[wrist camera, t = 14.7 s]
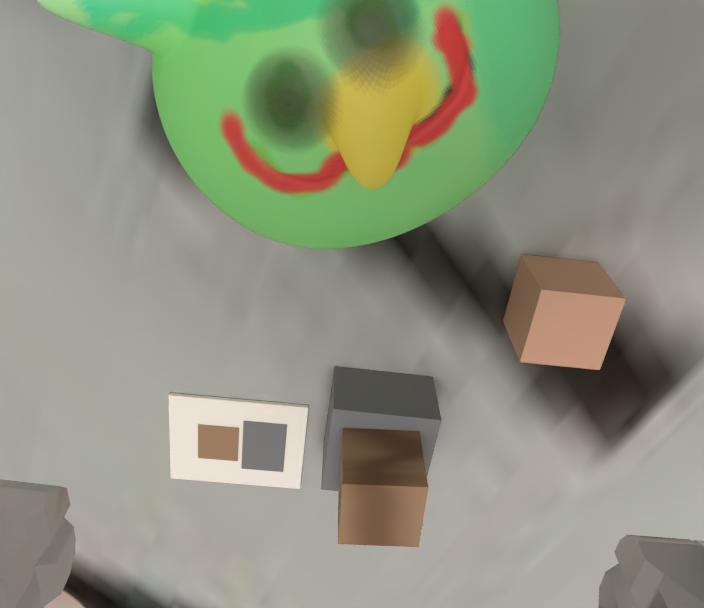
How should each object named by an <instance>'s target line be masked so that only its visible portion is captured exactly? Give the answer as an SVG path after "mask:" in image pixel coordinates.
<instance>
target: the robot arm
mask: <svg viewBox="0 0 704 608" xmlns="http://www.w3.org/2000/svg"><path fill="white" fill-rule="evenodd" d="M69 506H70V501H69V497H68V492H67V488H64V487H61V486H53V485H44V484H35V483H27V482H18V481H9V480H0V608H44V606H45V605H47V604H48V603H49V602H51V601H52V600H53V599H55V598H56V597H57V596H59V595H60V594H61V592H62V590H63V588H64V586H65V584H66V581H67V579H68V577H69V574H70V570H71V566H72V563H73V559H74V555H75V540H76V539H75V532H74V526H73V525H71V524H70V523H69V522H68V521H67V520H66V519H65V518H64V516H65V514H66V512H67V510H68V508H69ZM615 554H616V557H617V559H618V562H619V564H617V565H616V566H614V567H613V568H611V569H609V570H608V571H606V572H605V574H604V577H603V580H602V582H601V585H600V587H599V608H704V541H697V540H695V541H692V540H689V539H676V538H662V537H649V536H636V535H626V536H625V537H624V538H622V539H621V540H620V541H619V543H618V545H617V548H616V550H615Z"/></svg>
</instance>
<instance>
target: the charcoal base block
mask: <svg viewBox="0 0 704 608" xmlns="http://www.w3.org/2000/svg"><path fill="white" fill-rule="evenodd" d="M440 423H441V416H440V411H439V406H438V401H437V396H436V391H435V386H434V381H433V377H430V376H421V375H412V374H402V373H393V372H384V371H375V370H366V369H356V368H347V367H338V366H335V368H334V375H333V382H332V389H331V396H330V403H329V409H328V416H327V423H326V430H325V437H324V446H323V466H322V485H321V489H322V490H333V491H339V474H340V460H341V446H342V432H343V428H361V429H384V430H407V431H420V437H421V444H422V450H423V457H424V463H425V470H426V476H427V474H428V470H429V466H430V462H431V459H432V455H433V451H434V447H435V443H436V439H437V435H438V431H439V427H440Z"/></svg>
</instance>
